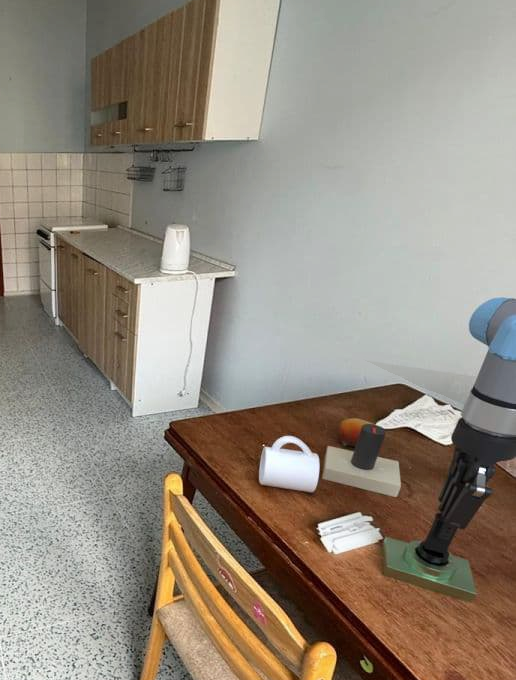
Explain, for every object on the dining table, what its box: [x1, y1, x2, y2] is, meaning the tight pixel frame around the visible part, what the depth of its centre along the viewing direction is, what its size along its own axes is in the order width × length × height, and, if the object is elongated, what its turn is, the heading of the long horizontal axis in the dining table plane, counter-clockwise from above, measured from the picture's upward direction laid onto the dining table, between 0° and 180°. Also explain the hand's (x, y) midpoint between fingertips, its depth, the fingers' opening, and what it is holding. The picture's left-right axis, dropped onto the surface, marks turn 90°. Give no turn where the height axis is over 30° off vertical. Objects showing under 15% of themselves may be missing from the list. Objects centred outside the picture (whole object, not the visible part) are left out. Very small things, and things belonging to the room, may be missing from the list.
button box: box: [381, 536, 478, 604], centre depth 79 cm, size 12×8×4 cm, turn 61°
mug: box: [258, 435, 321, 493], centre depth 100 cm, size 8×10×12 cm
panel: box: [321, 445, 402, 498], centre depth 104 cm, size 14×10×3 cm
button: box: [417, 540, 450, 566], centre depth 78 cm, size 4×4×2 cm
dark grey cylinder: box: [351, 423, 387, 470], centre depth 101 cm, size 4×4×9 cm
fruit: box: [338, 417, 374, 448], centre depth 114 cm, size 8×8×8 cm
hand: (434, 548), depth 78 cm, fingers closed
